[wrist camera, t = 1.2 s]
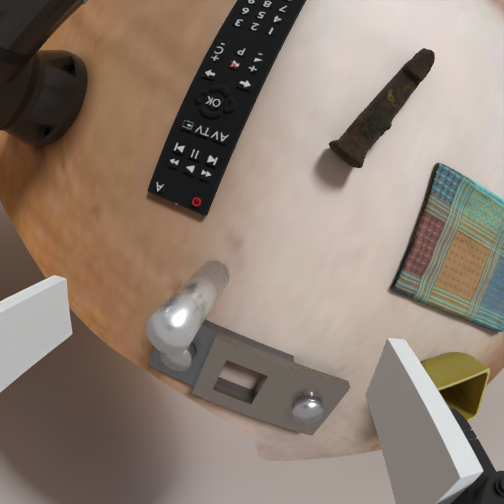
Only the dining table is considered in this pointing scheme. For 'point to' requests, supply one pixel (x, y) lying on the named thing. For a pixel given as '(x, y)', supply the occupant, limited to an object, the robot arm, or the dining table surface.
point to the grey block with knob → (271, 387)
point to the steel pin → (187, 309)
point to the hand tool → (382, 110)
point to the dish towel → (457, 251)
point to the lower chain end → (195, 356)
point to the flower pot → (459, 381)
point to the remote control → (221, 101)
